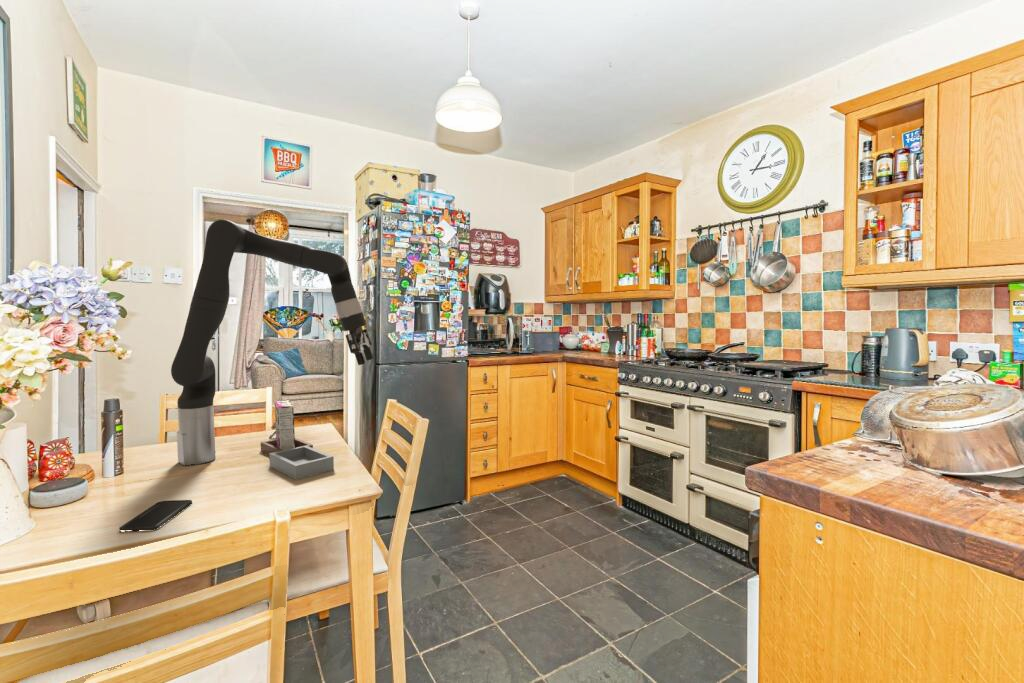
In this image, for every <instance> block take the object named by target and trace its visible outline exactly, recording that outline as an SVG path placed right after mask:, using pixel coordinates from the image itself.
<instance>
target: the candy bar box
mask: <svg viewBox="0 0 1024 683" xmlns="http://www.w3.org/2000/svg"><path fill="white" fill-rule="evenodd" d="M294 416H295V414H294V405H293V403H292V402H291V400H288V399H287V400H277V401H274V418H275V421H274V423H275V422H276V428H275V431H276V434H275V436H276V438H275V439H276V442H277V448H279V449H282V450H287V449H292V448H295V438H296V435H295V418H294Z"/></svg>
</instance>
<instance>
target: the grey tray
mask: <svg viewBox="0 0 1024 683" xmlns="http://www.w3.org/2000/svg"><path fill="white" fill-rule="evenodd" d="M268 456H269V467H270V468H272V469H274V470H275V471H277V472H279V471H280V472H279V473H281V472H282V473H281V474H283V473H284V475H285V474H286V475H285V476H287V475H288V476H287V477H289V476H290V478H291V477H292V478H291V479H293V478H294V479H293V480H295V479H298V480H301V478H302V479H304V477H305V478H309V477H312V476H311V475H313V476H316V475H315V474H317V475H320V474H323V473H322V472H324V473H327V472H326V471H328V472H330V470H331V471H334V470H335V465H334V464H335V463H334V459H335V458H334V455H331V454H328V453H326V452H323V451H320V450H318V449H316V448H314V447H313V448H311V447H309V446H301V447H297V448H292V449H287V450H283V451H278V452H274V453H269V455H268ZM319 473H320V474H319ZM308 476H309V477H308Z"/></svg>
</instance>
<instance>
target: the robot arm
mask: <svg viewBox="0 0 1024 683" xmlns="http://www.w3.org/2000/svg"><path fill="white" fill-rule="evenodd" d="M208 226H209V227H208V228H207V231H206V237H205V244H204V250H203V257H202V263H201V266H200V270H199V274H198V277H197V280H196V285H195V288H194V291H193V295H192V298H191V303H190V305H189V311H188V313H187V318H186V323H185V326H184V329H183V330H184V331H183V334H182V338H181V341H180V344H179V347H178V350H177V352H176V353H175V356H174V358H173V361H172V363H171V367H170V375H171V377H172V379H173V381H174V382H175V383H176V384H177V385H179V386H182V392H181V394H180V395H179V396H178V398H177V418H178V420H177V421H178V422H177V423H178V431H177V432H176V438H177V439H176V445H177V461H178V463H179V462H180V463H179V464H181V465H182V466H183V465H184V466H185V465H186V466H192V465H191V464H195V465H201V463H202V464H206V463H209V462H212V461H214V460H215V459H216V458H217V456H216V452H217V451H216V436H215V435H216V433H215V414H214V413H215V412H214V408H215V407H214V398H215V395H216V367H215V362H214V361H213V360H212V358H211V357H210V356H209V355H207V353H208V352H207V351H208V348H209V346H210V342H211V340H212V338H213V337H214V335H215V333H216V332H217V331H218V329H219V327H220V326H221V324H222V322H223V320H224V318H225V315H226V311H227V308H228V305H229V300H230V278H229V276H230V267H231V263H232V260H233V256H234V254H235V253H237V254H247V255H254V256H260V257H264V258H269V259H271V260H273V261H278V262H281V263H283V264H287V265H290V266H294V267H298V268H302V269H307V270H313V271H316V272H319V273H323V274H326V275H327V276H328V279H329V283H330V286H331V288H330V291H331V295H332V299H333V301H334V305H335V309H336V313H337V316H338V319H339V320H338V321H339V322H340V325H341V328H342V331H343V332H348V334H345V338H346V339H345V340H346V342H347V345H348V348H349V351H350V353H351V354H353V355H354V356H355V359H356V362H357V365H358V366H361V365H364V364H366V361H371V360H373V359H374V356H373V353H372V350H371V346H372V344H373V343H372V340H371V337H370V334H369V333H368V329H367V328H363V327H365V326H366V325H367V322H366V318H365V316H364V312H363V309H362V306H361V303H360V302H359V300H358V296H357V294H356V290H355V288H354V286H353V283H352V278H351V272H350V268H349V266H348V262H347V260H346V258H344V257H343V256H342V255H340V254H338V253H335V252H332V251H328V250H323V249H317V248H314V247H312V246H309V245H305V244H302V243H297V242H293V241H289V240H283V239H278V238H272V237H268V236H264V235H261V234H259V233H256V232H254V231H251V230H250V229H247V228H244V227H242V226H241V225H240V224H238V223H236V222H233V221H231V220H228V219H224V218H223V219H222V218H221V219H217V220H215V221H213V222H212V223H211V224H210V225H208ZM362 350H363V352H362ZM205 462H206V463H205ZM186 466H185V467H186Z"/></svg>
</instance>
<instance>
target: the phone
mask: <svg viewBox="0 0 1024 683" xmlns="http://www.w3.org/2000/svg"><path fill="white" fill-rule="evenodd" d="M190 504H192V505H193V500H192V499H182V500H181V499H179V500H178V499H177V500H173V499H172V500H161V501H158V502H156V503H154V504H153V505H152V506H150V507H148V508H147V509H145V510H143V511H142V512H141V513H139V514H138V515H136V516H135V517H133V518H131V519H130V520H129V521H127V522H125V523H124V524H123V525H121V526H119V529H120V530H133V531H138V530H154V529H157V528H159V527H160V526H162V525H163V524H164V523H166V522H167V521H168V520H170V519H171V518H173V517H174V516H176V515H177V514H178V513H179V512H181V511H182V510H183V509H185V508H186V507H188V506H189V505H190ZM190 506H191V505H190ZM190 506H189V507H190ZM189 507H188V508H189ZM186 509H187V508H186ZM186 509H185V510H186ZM182 512H183V511H182ZM182 512H181V513H182ZM178 515H179V514H178ZM178 515H177V516H178ZM174 518H175V517H174ZM174 518H173V519H174ZM171 520H172V519H171ZM171 520H170V521H171ZM167 523H168V522H167ZM167 523H166V524H167ZM163 526H164V525H163ZM163 526H162V527H163ZM119 529H118V530H119ZM159 529H160V528H159ZM157 530H158V529H157ZM154 531H155V530H154Z"/></svg>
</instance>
